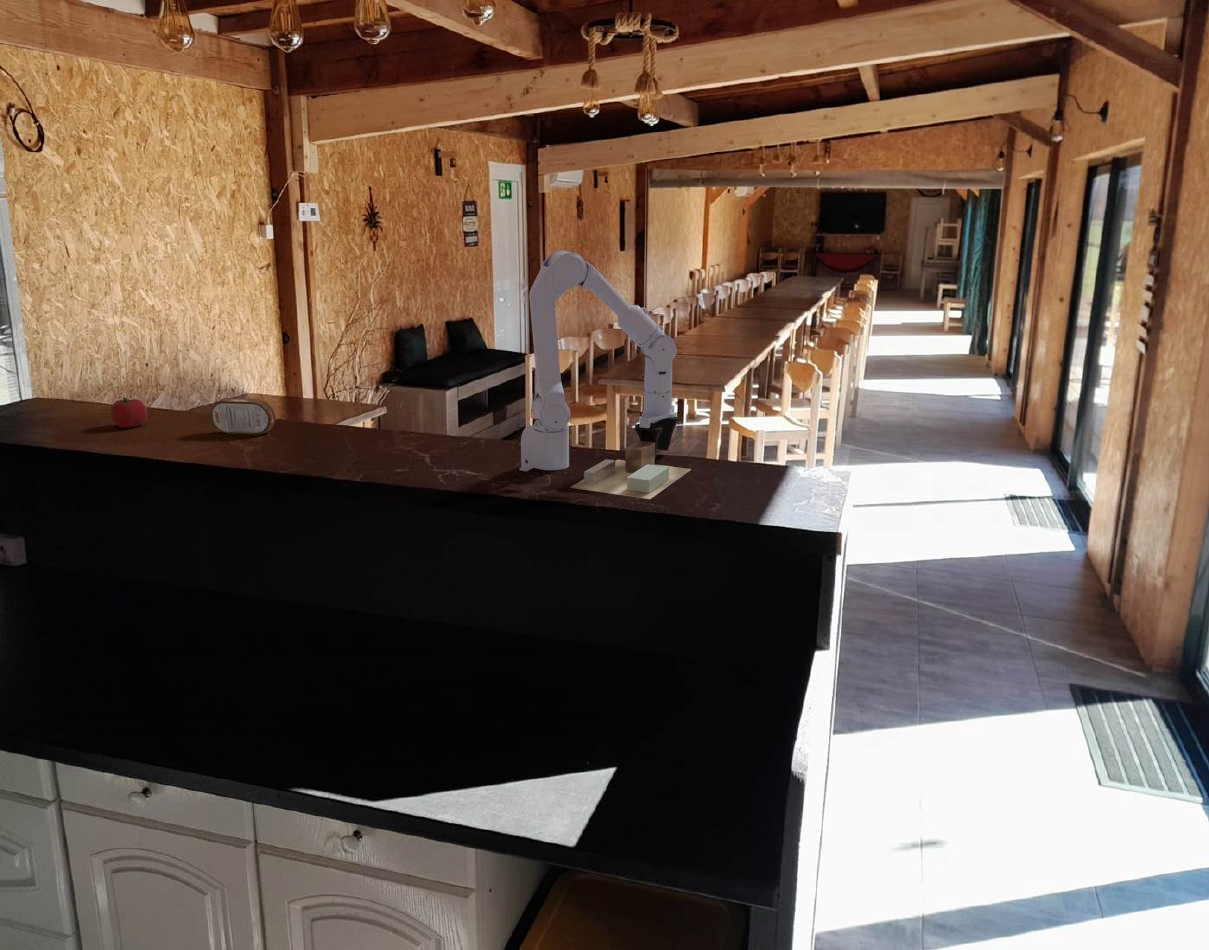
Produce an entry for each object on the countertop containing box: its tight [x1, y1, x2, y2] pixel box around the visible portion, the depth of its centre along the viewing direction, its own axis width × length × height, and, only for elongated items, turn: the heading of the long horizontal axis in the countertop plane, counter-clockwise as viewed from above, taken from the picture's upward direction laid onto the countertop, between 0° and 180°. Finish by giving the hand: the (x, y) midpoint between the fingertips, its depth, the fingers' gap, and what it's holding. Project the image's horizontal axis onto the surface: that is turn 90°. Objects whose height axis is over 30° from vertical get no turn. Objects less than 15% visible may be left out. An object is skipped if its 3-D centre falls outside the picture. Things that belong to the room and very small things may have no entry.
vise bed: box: [569, 459, 692, 502], centre depth 185 cm, size 16×22×1 cm
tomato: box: [110, 396, 148, 429], centre depth 228 cm, size 8×8×7 cm
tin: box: [209, 397, 276, 436], centre depth 221 cm, size 15×3×8 cm, turn 84°
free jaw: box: [627, 464, 669, 493], centre depth 180 cm, size 5×10×2 cm, turn 155°
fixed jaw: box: [583, 458, 616, 486], centre depth 185 cm, size 2×10×2 cm, turn 155°
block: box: [624, 439, 656, 473], centre depth 191 cm, size 4×7×5 cm, turn 155°
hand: (656, 454), depth 199 cm, fingers open, 7 cm apart
